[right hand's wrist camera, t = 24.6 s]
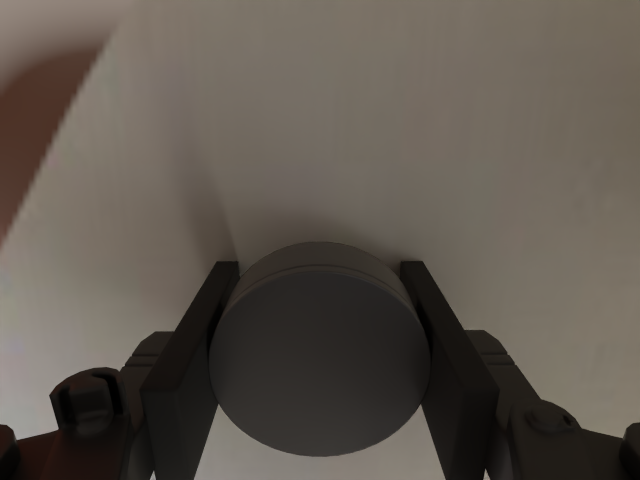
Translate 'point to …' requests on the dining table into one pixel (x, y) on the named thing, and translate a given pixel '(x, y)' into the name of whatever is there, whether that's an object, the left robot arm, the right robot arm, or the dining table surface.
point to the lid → (319, 351)
